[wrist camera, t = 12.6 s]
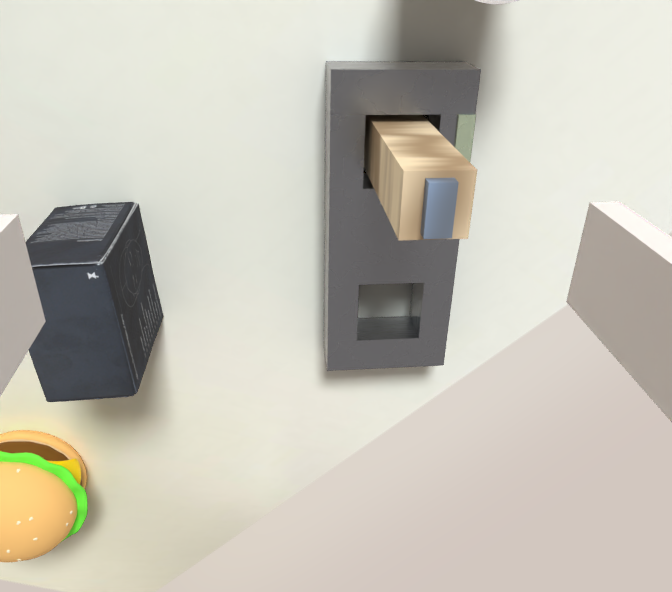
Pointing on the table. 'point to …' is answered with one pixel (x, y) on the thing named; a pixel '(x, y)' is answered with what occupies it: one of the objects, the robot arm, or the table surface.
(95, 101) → the table surface
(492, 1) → the cup
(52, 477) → the toy hamburger
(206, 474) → the table surface
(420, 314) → the panel
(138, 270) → the box
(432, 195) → the plug
